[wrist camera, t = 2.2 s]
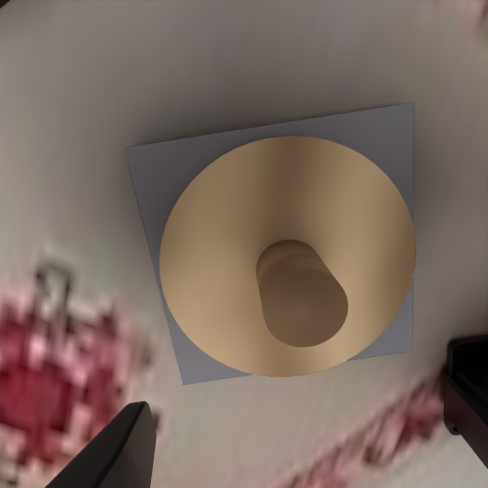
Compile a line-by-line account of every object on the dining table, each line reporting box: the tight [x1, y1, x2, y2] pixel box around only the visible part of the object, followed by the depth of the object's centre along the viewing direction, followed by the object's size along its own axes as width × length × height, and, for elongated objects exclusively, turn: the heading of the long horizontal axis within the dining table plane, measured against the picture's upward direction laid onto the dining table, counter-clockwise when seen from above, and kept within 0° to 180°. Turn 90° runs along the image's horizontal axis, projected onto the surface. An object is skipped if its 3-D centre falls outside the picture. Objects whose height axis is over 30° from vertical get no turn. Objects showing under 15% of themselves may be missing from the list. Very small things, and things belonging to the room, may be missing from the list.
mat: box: [124, 102, 414, 385], centre depth 16 cm, size 12×12×2 cm
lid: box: [159, 136, 416, 377], centre depth 13 cm, size 11×11×5 cm
